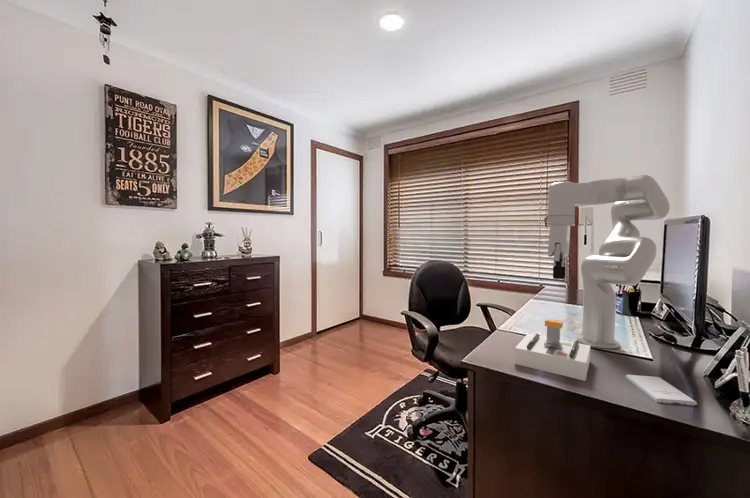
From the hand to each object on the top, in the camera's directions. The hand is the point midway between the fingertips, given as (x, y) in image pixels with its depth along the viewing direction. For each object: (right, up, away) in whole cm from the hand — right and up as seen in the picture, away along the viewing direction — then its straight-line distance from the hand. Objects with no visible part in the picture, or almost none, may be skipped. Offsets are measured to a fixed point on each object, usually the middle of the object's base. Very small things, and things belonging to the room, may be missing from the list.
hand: (559, 278), depth 102 cm
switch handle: (-5, -20, -5) cm, 22 cm away
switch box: (-5, -25, -5) cm, 26 cm away
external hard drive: (+12, -27, -22) cm, 37 cm away
